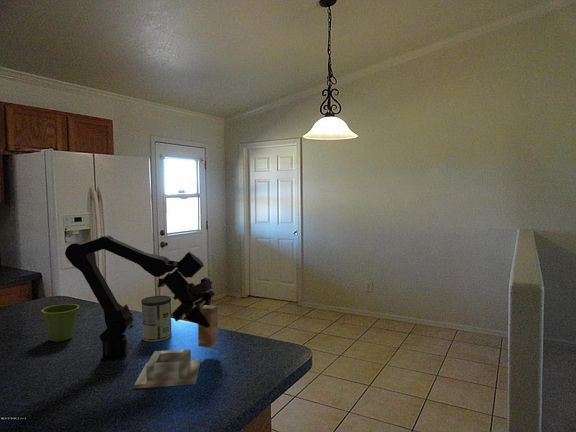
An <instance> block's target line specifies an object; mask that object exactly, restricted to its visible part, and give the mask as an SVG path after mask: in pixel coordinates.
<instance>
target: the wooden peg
mask: <svg viewBox="0 0 576 432" xmlns="http://www.w3.org/2000/svg"><path fill="white" fill-rule="evenodd" d="M200 312H201V313H202V315H203V316H204V317H205V319H206V320H207V322H208V323H209V325H210V326H209V327H208V328H206V327H204V326H202V325H199V324H197V330H198V331H197V333H198V334H197V337H198V338H197V339H198V340H197V342H198V343H197V345H198V347H201V348H210V349H211V348H213V347H214V346H216V344H218V342H219V339H218V336H219V335H218V330H219V329H218V320H219V319H218V305H212V304H210V305H204V306H202V307H200Z"/></svg>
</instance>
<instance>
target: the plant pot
mask: <svg viewBox="0 0 576 432" xmlns="http://www.w3.org/2000/svg"><path fill="white" fill-rule="evenodd" d="M80 307H81V306H80V305H79V304H77V303H76V304H75V303H64V304H56V305H50V306H46V307H44V308H43V309H42V310H41V313H43V317H44V320H45V324H46V329H47V334H48V339H49V341H50V342H55V343H59V342H64V341H65V342H66V341H68V340H70V339H72V338H73V335H74V329H75V325H76V318H77V315H78V310H79V308H80Z"/></svg>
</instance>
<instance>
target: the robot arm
mask: <svg viewBox="0 0 576 432" xmlns="http://www.w3.org/2000/svg"><path fill="white" fill-rule="evenodd" d="M101 250H105V251H106V252H109V253H112V254H113V255H116V256H118V257H121V258H123V259H126V260H127V261H129V262H132V263H135V264H136V265H138V266H140V267H141V268H142V269H143V270H144V271H145V272H147V273H148V274H150V275H151V276H153V277H156V278H158V283H157V287H158V288H162V287H165V286H166V287H167V288H168V289H169V291H170V292H171V293H172V294H173V297H172V298H173V300H175V301H176V300H178V301H179V303H181V304H179V305H178V307H177V308H176V309H174V311H173V312H172V318H173V319H174V321H176V322H179V321H181V319H183V321H184V320H185V321H188V322H192V323H195V324H197V325H198V324H199V325H202V326H204V327H206V328H208V327H209V326H210V325H209V323H208V322H207V320H206V319H205V317H204V316H203V315H202V313H201V312H200V307H202V306H204V305H211V302H212V300H213V299H212V298H213V297H214V296H215V295H216V293H215V292H214V291H213V290H212V289H213V287H212V284H213V280H210V278H208V277H207V276H206V277H204V278H202V279H200V283H198V284H194V283H193V282H190V283H189V282H188V281H187V280H186V279H188V278H190V279H192V278H193V277H194V276H195V275H196V274H197V273H198V272H199V271H200V270H201V269H203V267H204V266H205V264H204V263H203V261H202V260H201V259H200V258H199V257H198V256H196V255H195V254H193V253H192V252H191V251H188V252H187V253H186V254H185V255H184V256H183V258H181V259H180V260H179V261H176V260H170V259H169V258H168V257H166V256H163V255H160V254H155V253H148V252H146V251H142V250H141V249H138V248H136V247H134V246H131V245H129V244H128V243H124V242H123V241H120V240H118V239H115V238H114V237H113V236H111V235H103V236H100V237H98V238H96V239H93V240H90V241H78V242H73V243H71V244H69V245H68V246H67V247H66V249H65V251H64V255H65V258H66V260H67V261H68V262H69V263H70V264H71V265H72V266H73V267H74V268H76V269H77V270H78V271H80V272H81V274H82V275H83V277H84V279H85V280H86V282H87V284H88V285H89V288H90V290H91V291H92V293H93V295H94V296H95V298H96V300H97V302H98V304H99V306H100V307H101V309H102V311H103V316H104V323H105V327H106V329H104V330H103V332H102V333H101V334H100V335H99V339H100V341H101V343H102V345H101V346H102V347H101V348H102V356H101V357H100V360H101V361H107V360H108V361H110V360H122V359H123V358H124V357H125V356H126V354H127V353H128V352H129V351H128V349H129V347H128V346H129V345H128V339H127V338H126V334H125V333H126V332H127V330H129V328H130V327H131V326H132V325H133V322H134V321H133V320H132V315H134V314H133V313H132V312H131V311H130V308H129V306H128V304H124V305H123V306H122V305H121V303H119V302H118V301H117V299H116V297H115V296H114V294H113V292H112V290H111V288H110V286H109V285H108V282H107V280H105V278H104V275H103V274H102V273H101V271H100V269H99V267H98V266H97V257H96V254H95V253H96V252H98V251H101ZM165 274H166V275H165ZM164 275H165V276H164ZM162 276H164V277H163V278H160V277H162ZM183 316H184V318H183ZM132 321H133V322H132Z"/></svg>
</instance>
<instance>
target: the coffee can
mask: <svg viewBox="0 0 576 432" xmlns="http://www.w3.org/2000/svg"><path fill="white" fill-rule="evenodd" d="M171 300H172V297H171V296H169V295H152V296H148V297H144V298H143V299H141V300H140V303H141V321H142V322H141V323H142V326H141V327H142V328H141V329H142V340H143V341H145V342H147V343H149V342H150V343H151V342H152V343H153V342H154V343H155V342H162V341H165V340H167V339H170V338H171V337H172V307H171V305H172V303H171V302H172V301H171Z"/></svg>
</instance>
